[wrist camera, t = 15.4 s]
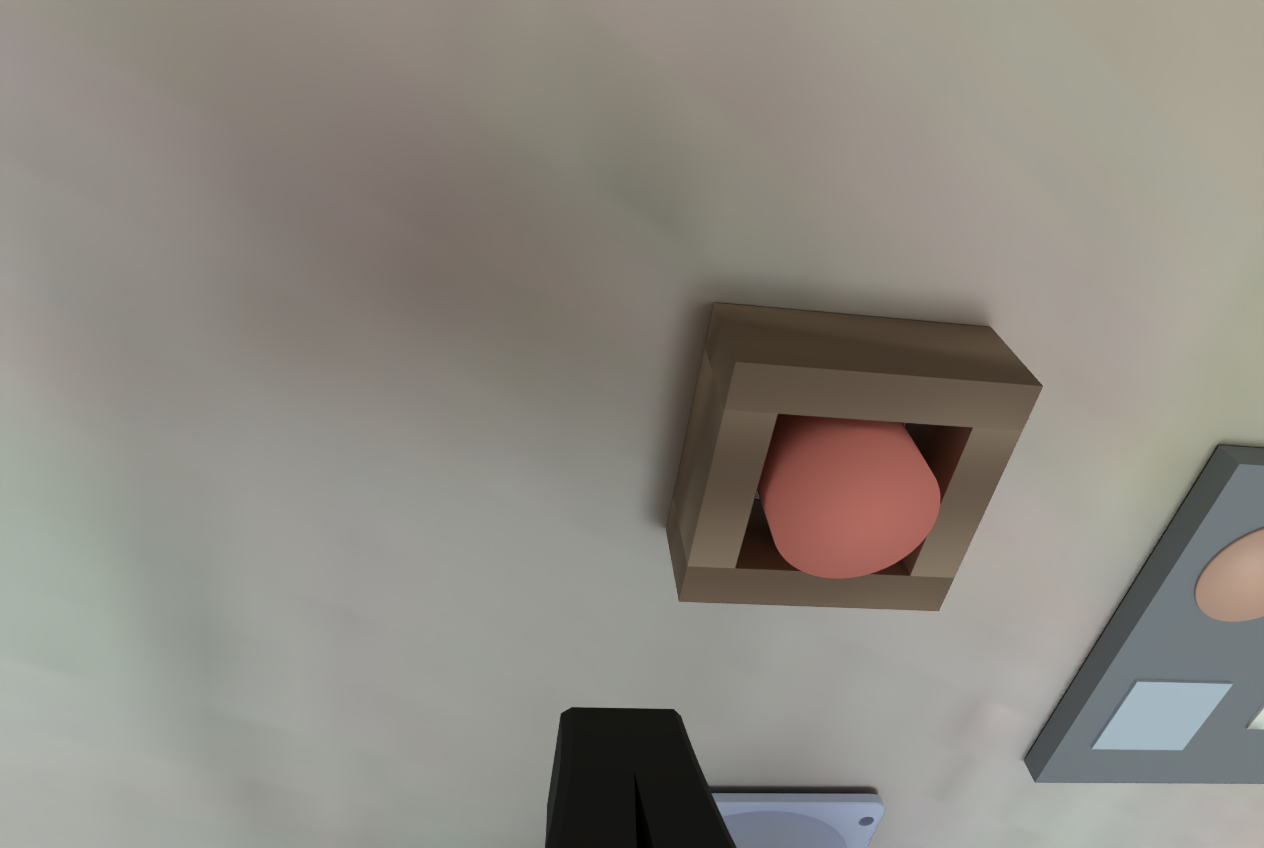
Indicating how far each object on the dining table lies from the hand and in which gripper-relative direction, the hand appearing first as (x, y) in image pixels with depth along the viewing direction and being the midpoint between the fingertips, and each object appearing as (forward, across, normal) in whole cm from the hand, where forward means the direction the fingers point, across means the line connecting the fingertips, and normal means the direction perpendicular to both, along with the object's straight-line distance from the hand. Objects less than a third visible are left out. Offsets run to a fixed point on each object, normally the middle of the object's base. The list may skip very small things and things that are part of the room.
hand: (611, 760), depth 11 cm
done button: (+11, -6, +2) cm, 13 cm away
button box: (+10, -6, +2) cm, 12 cm away
